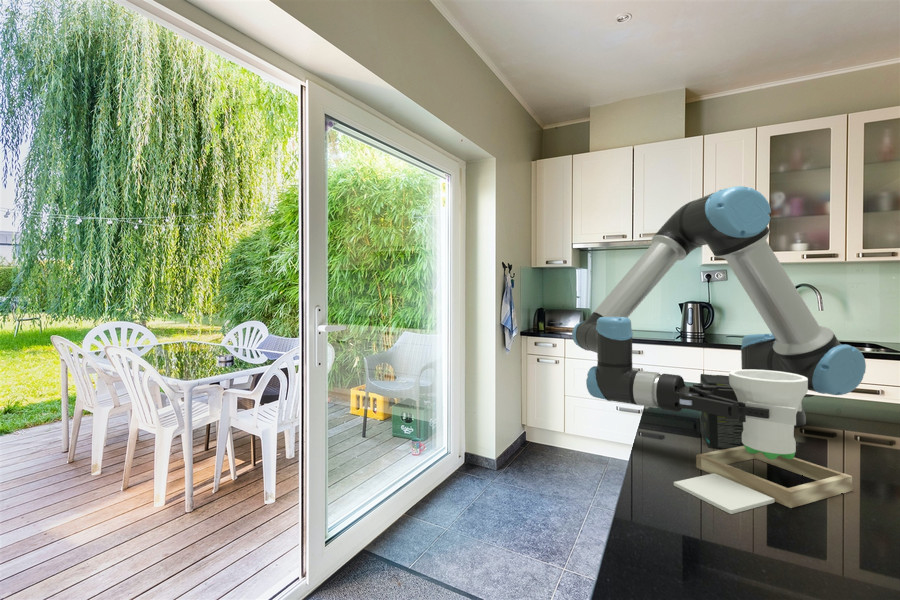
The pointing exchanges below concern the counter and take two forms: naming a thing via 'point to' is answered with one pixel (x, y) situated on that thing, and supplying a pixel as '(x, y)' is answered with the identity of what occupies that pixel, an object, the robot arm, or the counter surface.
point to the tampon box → (719, 421)
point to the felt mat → (724, 493)
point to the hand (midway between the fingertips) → (798, 410)
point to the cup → (773, 392)
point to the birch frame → (791, 497)
